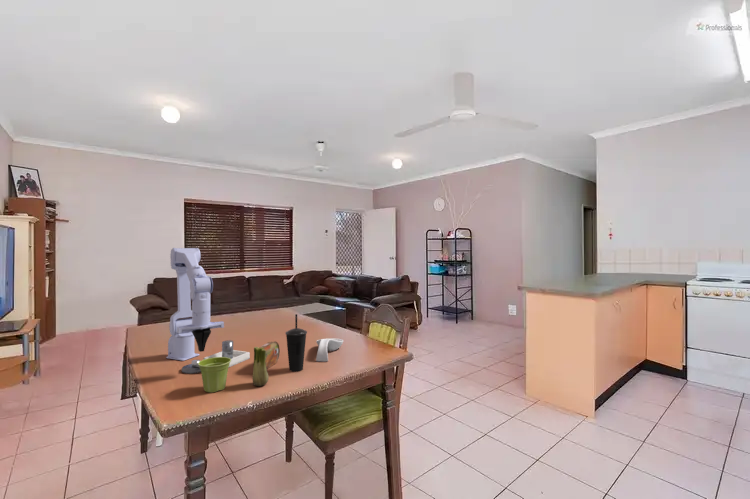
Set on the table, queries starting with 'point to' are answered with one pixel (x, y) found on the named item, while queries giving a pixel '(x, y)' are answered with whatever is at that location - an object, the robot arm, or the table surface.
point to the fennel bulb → (259, 367)
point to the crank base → (190, 369)
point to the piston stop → (227, 349)
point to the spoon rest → (327, 348)
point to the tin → (271, 353)
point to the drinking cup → (296, 347)
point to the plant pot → (214, 373)
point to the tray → (234, 357)
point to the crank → (196, 363)
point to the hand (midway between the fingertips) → (201, 350)
